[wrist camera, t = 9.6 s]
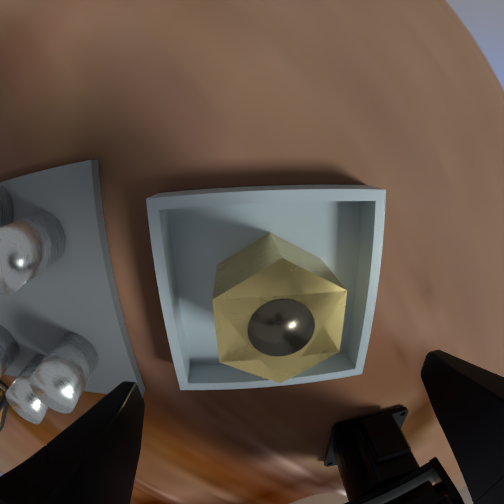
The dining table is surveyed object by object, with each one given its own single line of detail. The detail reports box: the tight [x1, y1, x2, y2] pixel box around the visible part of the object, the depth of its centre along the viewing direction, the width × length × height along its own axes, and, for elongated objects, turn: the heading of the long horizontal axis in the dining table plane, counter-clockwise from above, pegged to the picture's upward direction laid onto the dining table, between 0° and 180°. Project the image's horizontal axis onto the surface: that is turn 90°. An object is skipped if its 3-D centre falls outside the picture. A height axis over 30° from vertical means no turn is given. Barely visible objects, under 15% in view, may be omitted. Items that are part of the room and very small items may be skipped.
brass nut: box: [212, 232, 347, 383], centre depth 13 cm, size 6×5×4 cm
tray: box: [146, 185, 386, 390], centre depth 14 cm, size 10×10×2 cm
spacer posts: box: [0, 185, 99, 424], centre depth 11 cm, size 14×10×4 cm
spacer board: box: [0, 159, 145, 397], centre depth 14 cm, size 14×14×1 cm
